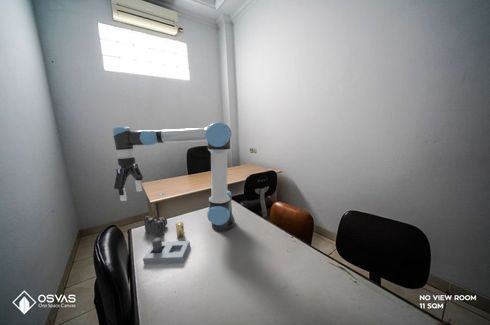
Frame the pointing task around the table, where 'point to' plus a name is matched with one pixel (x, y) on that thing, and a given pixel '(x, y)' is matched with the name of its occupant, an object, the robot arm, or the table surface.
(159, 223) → the camera
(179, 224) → the brass cylinder
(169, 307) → the table surface
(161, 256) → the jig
